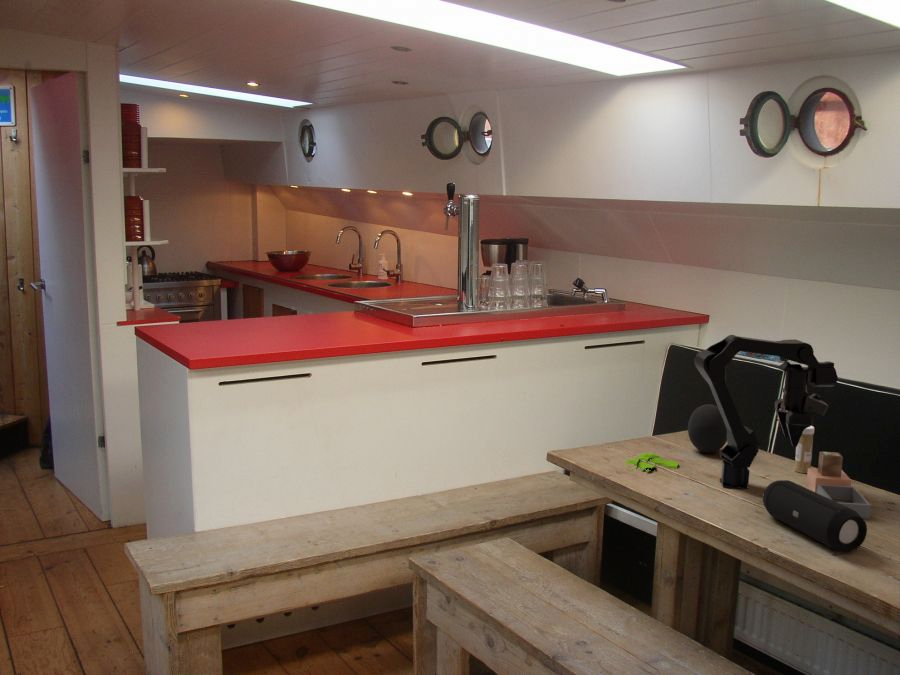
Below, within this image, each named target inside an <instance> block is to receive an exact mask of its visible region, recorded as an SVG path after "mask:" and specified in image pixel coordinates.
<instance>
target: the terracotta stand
mask: <svg viewBox="0 0 900 675" xmlns="http://www.w3.org/2000/svg"><path fill="white" fill-rule="evenodd" d="M852 482H853V480H852V479H851V478H850V477H849V475H847V473H845V472H844V470H842V472H841V477H835V476H821V474H820V473H819V472H818V467H817V468H815V467H814V468H813V467H811V468H808V472H807V473H806V483H805V484H806V485H807V486H808V488H809V490H811V491H813V492H816V493H817V486H818V485H834V486H849V487H852Z"/></svg>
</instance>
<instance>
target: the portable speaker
mask: <svg viewBox="0 0 900 675" xmlns="http://www.w3.org/2000/svg"><path fill="white" fill-rule="evenodd" d="M837 502H838V501H835V500H834V499H832V500H831V499H829V498H827V497H824V496H822V495H820V494H818V493H816V492H813V491H812V490H811V489H810V488H809V489H808V488H807V487H805V486H802V485H800V484H797V483H796V482H793V481H791V480H788V479H785V480H780V479H779V480H774V481H772V482H770V483H769V485H767V486H766V489H765V490H764V491H763V494H762V505H763V506H764V508H765V509H766V511H767V512H768V514H769V515H770V516H771V517H772V518H774V519H777V520H778V521H780V522H782V523H784V524H786V525H788V526H789V527H790V528H791V527H792V528H793V529H795V530H797V531H798V532H801V533H802V534H805V535H806V536H809V537H810V538H813V539H814V540H815V541H817V542H820V543H822V544H823V545H826V546H827V547H829V548H831V549H832V550H835V551H836V552H837V551H838V552H852V551H855V550H857V549H858V548H859V547H860V546H862V545H863V543H864V541H865V540H866V537H867V534H868V532H867V531H868V528H867V526H868V525H867V523H866V521H865V519H864V518H862V517H861V516H860V515H859V514H858V513H857V512H856V511H854V510H853V509H850V508H848V507H846V506H844V505H842V504H840V503H841V502H840V503H837Z"/></svg>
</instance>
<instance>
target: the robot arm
mask: <svg viewBox="0 0 900 675" xmlns="http://www.w3.org/2000/svg"><path fill="white" fill-rule="evenodd" d="M740 352H742V353H751V354H757V355H758V354H760V355H766V356H767V355H768V356H774V357H779V358H782V359H786V360H784V361H783V363H781V364H780V365H778V366H777V368H778V370H781V371H783V372H785V377H784V386H783V387H782V390H781V392H782V393H783V398H778V399H777V400H775V401H774V409H775V412H776V415H777V418H778V421H779V424H780V427H781V430H782V433H783V435H784V437H785V438H786V439H787V438H788V439H789V438H790V442H791V446H792V448H793V447H794V448H796V447H797V445H798V443H799V440H800V438H801V435H802V433H803V431H804V430H805V429H806V428H808V427H810V426H813V425H814V417H813V416H812V415H811V414H810V412H809V411H811V412H814V413H817V414H818V415H819V416H822V417H823V416H825V414H826V411H828V407H829V405H828V404H827V403H826V401H823V400H821V396H820V395H819V394H817V393H812V394H811V395H810V392H808V384H809V385H810V387H815V388H816V387H831V388H832V387H835V386H836V385H837V382H838V377H839V376H838V375H837V374H838V373H837V370H836V368H835V363H834V362H833V361H823V362H822V361H821V362H820V361H818V359H817V357H816V356H815V354H814V347H813V346H812V345H811V344H809V343H807V342H804V341H801V340H799V339H781V340H767V339H760V338H752V337H747V336H746V337H745V336H738V335H735V334H730V335H727V336H726V337H724V338H723V339H721V340H720V341H718V342H716V343H713V344H711V345H710V346H709V347H708V348H706V349H702V350H700V351H699V352H697V353H696V355H695V357H694V359H693V361H694V366H695V368H696V369H697V371H698V372H699V374H700V375H701V376H702V378H703V379H704V380H705V382H706V383H707V384H708V386H709V388H710V391H711V393H712V396H713V399H714V401H715V403H716V406H717V407H718V408H719V411H720V413H721V416H722V418H723V421H724V423H725V426H726V428H727V442H726V444H725V445H724V446H723V447H722V448H721V449H720V450H719V452H718V453H719V456H720V459H721V460H722V462H721V477H720V478H719V482H720V484H721V485H722V487H723V488H731V489H732V488H733V489H748V485H749V484H750V482H749V481H750V469H749V468H750V467H751V465H752V463H753V461H754V459H755V458H756V457H757V455H758V453H759V446H760V443H759V442H758V440H757V438H756V433H755V431H754V430H752V429H751V428H748V427H747V426H746V425H744V424H743V420H742V419H741V416H740V413H739V411H738V409H737V407H736V404H735V402H734V399H733V397H732V396H733V395H732V394H731V391H730V389H729V386H728V384H727V381H726V379H727V368H726V366H727V365H728V364H730V362H731V361H733V359H734V358H735V356H736V355H737V354H738V353H740ZM787 360H788V361H787ZM789 361H791V362H794V363H790V362H789ZM803 365H805V366H803Z"/></svg>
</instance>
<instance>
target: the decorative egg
mask: <svg viewBox="0 0 900 675" xmlns="http://www.w3.org/2000/svg"><path fill="white" fill-rule="evenodd" d="M687 433H688V438H689V440H690V443H691V444H692V445H693V447H695V449H696V450H698V451H701V452H702V453H707V454H711V453H715V452H718V451H721V450H722V449H723V448H724V447H725V446H726V444H727V443H728V442H727V428H726V426H725V423H724V421H723V418H722V416H721V413H720V411H719V408H718V406H717V405H715V404H711V403H710V404H702V405H699V406H698V407H697V408H695V409H694V411H692V413H691V415H690V417H689V420H688V424H687Z"/></svg>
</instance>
